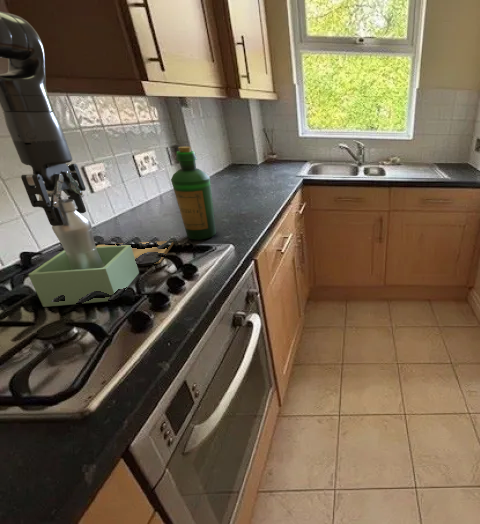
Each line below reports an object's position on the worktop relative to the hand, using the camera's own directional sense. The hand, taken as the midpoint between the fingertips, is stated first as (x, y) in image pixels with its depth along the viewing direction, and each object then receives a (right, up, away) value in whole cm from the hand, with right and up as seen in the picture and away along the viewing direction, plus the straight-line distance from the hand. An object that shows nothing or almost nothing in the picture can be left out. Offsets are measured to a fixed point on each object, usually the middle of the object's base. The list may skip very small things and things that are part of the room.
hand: (69, 218), depth 70 cm
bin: (-1, -15, +7) cm, 17 cm away
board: (-5, -7, +24) cm, 25 cm away
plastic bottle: (-1, -15, +7) cm, 16 cm away
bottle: (+8, -1, +39) cm, 40 cm away
